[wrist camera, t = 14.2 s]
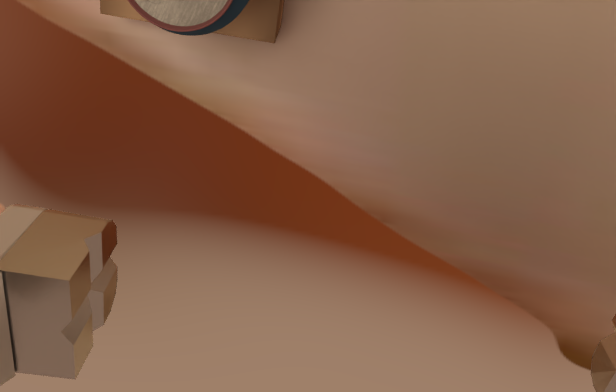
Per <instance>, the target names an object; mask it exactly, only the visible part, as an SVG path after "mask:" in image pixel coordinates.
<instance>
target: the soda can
mask: <svg viewBox="0 0 616 392" xmlns="http://www.w3.org/2000/svg"><path fill="white" fill-rule="evenodd" d="M127 1H128V2H129V3H130V5H131V6H132V7H133V8H134V9H135V10H136V11H137V12H138V13H139V14H140V15H141V16H142V17H144V18H145V19H146V20H148V21H149V22H151V23H153V24H154V25H156V26H158V27H160V28H162V29H164V30H167V31H169V32H172V33H176V34H181V35H203V34H208V33H212V32H214V31H217V30H219V29H221V28H223V27H225V26H226V25H228V24H229V23H231V22H232V21H233V20H234V19H235V18H236V17H237V16H238V15H239V14H240V13H241V12H242V10H243V9H244V7H245V6H246V5H247V3H248V2H249V0H127Z"/></svg>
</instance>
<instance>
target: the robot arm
mask: <svg viewBox="0 0 616 392" xmlns="http://www.w3.org/2000/svg"><path fill="white" fill-rule="evenodd" d="M116 245H117V227H116V225H115V223H114V222H113V220H109V219H103V218H97V217H92V216H86V215H81V214H74V213H69V212H64V211H58V210H52V209H49V210H48V209H46V208H40V207H34V206H28V205H21V204H14V205H10V206H8V207H7V208H6V209H5V210H4V211H3V212H2V213H1V214H0V386H1V385H3V384H4V383H5V382H7V381H8V380H10V379H11V378H13V377H14V376H15V372H17V373H25V374H35V375H43V376H51V377H60V378H68V379H76V377H77V375H78V374H79V372H80V370H81V368H82V366H83V364H84V362H85V360H86V358H87V356H88V354H89V353H90V351H91V349H92V347H93V331H94V330H96V329H97V328H99V327H101V326H103V325H104V323H105V321H106V319H107V317H108V315H109V313H110V311H111V307H112V304H113V301H114V298H115V294H116V287H117V266H116V264H115V263H114V262H113V260H112V259H111V258H110V255H111V254H112V252H113V250H114V248H115V247H116ZM612 323H613V327H614V330H615V332H614V333H613V334H611V335H609V336H608V337H606V338H604V339H603V340H601V341H600V342H599V344H598V346H597V348H596V350H595V352H594V354H593V356H592V366H591V376H592V381H593V386H594V388H595V390H596V392H616V314H615V316H614V317H613V319H612Z"/></svg>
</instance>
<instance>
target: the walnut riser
mask: <svg viewBox="0 0 616 392" xmlns="http://www.w3.org/2000/svg"><path fill="white" fill-rule="evenodd" d="M283 5H284V0H249V2H248V3H247V5H246V6H245V7H244V9H243V10H242V12H241V13H240V14H239V15H238V16H237V17H236V18H235V19H234V20H233V21H232V22H231V23H229V24H228V25H226V26H225V27H223V28H221V29H219V30H217V31H214V32H212V33H217V34H223V35H229V36H235V37H241V38H247V39H253V40H259V41H264V42H270V43H275V40H276V37H277V35H278V32H279V29H280V27H281V20H282V12H283ZM100 11H101V14H106V15H112V16H118V17H124V18H130V19H135V20H141V21H147V22H149V21H148V20H146V19H145V18H144V17H142V16H141V15H140V14H139V13H138V12H137V11H136V10H135V9H134V8H133V7H132V6H131V5H130V3H129V2H128V1H127V0H100Z"/></svg>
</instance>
